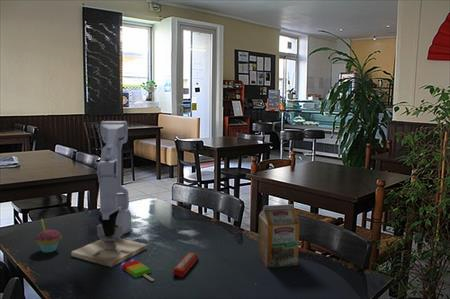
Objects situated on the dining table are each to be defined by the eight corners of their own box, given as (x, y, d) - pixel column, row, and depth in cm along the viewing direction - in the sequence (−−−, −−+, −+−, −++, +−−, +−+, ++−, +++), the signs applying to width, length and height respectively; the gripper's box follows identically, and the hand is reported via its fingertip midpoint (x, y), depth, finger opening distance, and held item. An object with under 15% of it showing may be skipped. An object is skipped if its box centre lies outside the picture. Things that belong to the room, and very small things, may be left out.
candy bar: (182, 280, 125) (182, 270, 125) (171, 278, 126) (170, 269, 125) (199, 259, 140) (199, 250, 140) (189, 257, 141) (189, 249, 141)
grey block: (94, 240, 142) (94, 226, 142) (105, 234, 148) (104, 220, 147) (115, 243, 140) (114, 228, 139) (124, 237, 145) (124, 223, 145)
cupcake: (34, 255, 141) (32, 221, 139) (38, 246, 149) (36, 214, 147) (61, 253, 143) (59, 219, 141) (63, 244, 151) (62, 212, 150)
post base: (109, 239, 157) (109, 227, 156) (147, 248, 148) (147, 236, 148) (71, 255, 141) (70, 243, 140) (111, 267, 133) (110, 253, 132)
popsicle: (136, 264, 136) (136, 259, 136) (161, 280, 125) (161, 274, 124) (120, 269, 132) (120, 263, 132) (145, 286, 121) (144, 280, 121)
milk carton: (266, 267, 134) (268, 210, 131) (257, 254, 144) (259, 201, 141) (297, 265, 136) (300, 208, 133) (286, 252, 146) (288, 200, 143)
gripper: (117, 200, 135) (118, 240, 137) (123, 189, 149) (124, 226, 151) (95, 201, 134) (96, 241, 136) (103, 190, 148) (104, 226, 150)
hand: (109, 233), depth 144 cm, fingers closed on grey block, 5 cm apart
